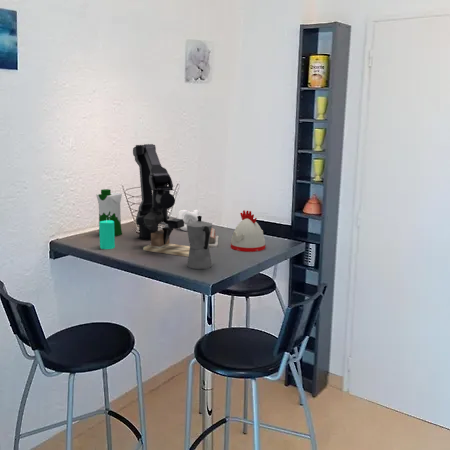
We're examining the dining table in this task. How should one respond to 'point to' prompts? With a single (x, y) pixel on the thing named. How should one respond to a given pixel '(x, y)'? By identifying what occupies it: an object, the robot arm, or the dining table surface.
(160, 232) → the block
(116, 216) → the milk carton
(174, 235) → the dining table surface
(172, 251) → the board
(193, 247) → the coffeepot
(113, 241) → the candle
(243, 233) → the kitchen timer
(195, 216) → the white knot sculpture
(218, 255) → the dining table surface
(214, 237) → the packaged product
